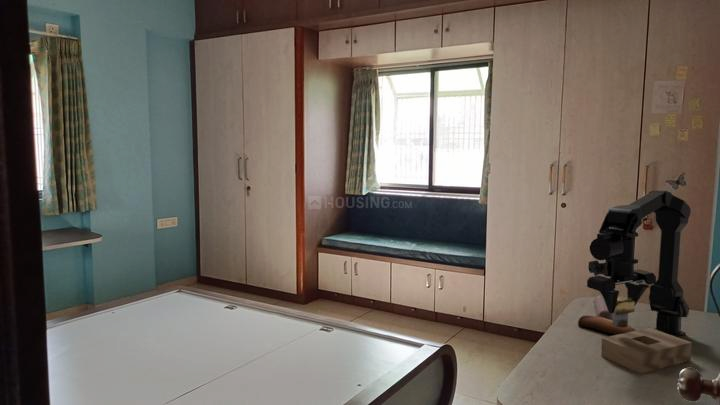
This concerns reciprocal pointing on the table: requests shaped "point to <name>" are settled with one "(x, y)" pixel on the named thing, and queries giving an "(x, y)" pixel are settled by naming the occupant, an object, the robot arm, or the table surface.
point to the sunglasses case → (603, 325)
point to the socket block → (646, 350)
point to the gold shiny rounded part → (623, 311)
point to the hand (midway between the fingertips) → (620, 311)
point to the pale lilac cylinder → (602, 308)
